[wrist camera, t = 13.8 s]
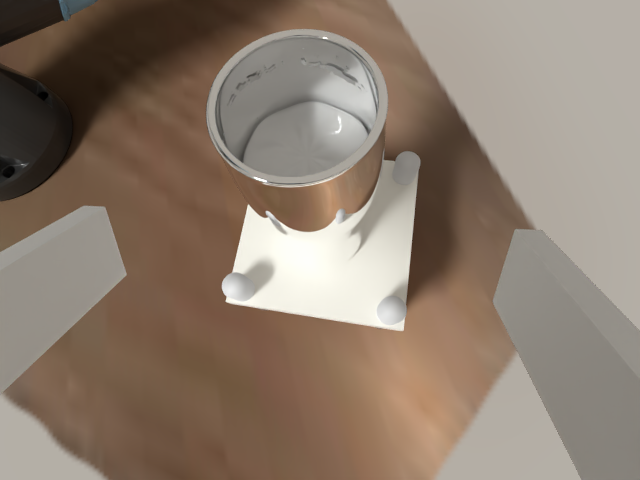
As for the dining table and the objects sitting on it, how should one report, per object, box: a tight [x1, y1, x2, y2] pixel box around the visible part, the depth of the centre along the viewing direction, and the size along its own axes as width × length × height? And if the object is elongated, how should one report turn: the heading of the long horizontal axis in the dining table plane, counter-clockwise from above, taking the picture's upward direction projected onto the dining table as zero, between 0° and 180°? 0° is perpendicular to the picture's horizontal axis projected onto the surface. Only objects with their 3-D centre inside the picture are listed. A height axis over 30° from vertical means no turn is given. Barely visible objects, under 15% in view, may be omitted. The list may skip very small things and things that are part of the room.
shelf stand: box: [222, 151, 420, 331], centre depth 29 cm, size 13×13×10 cm
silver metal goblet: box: [206, 29, 388, 269], centre depth 19 cm, size 7×7×15 cm
